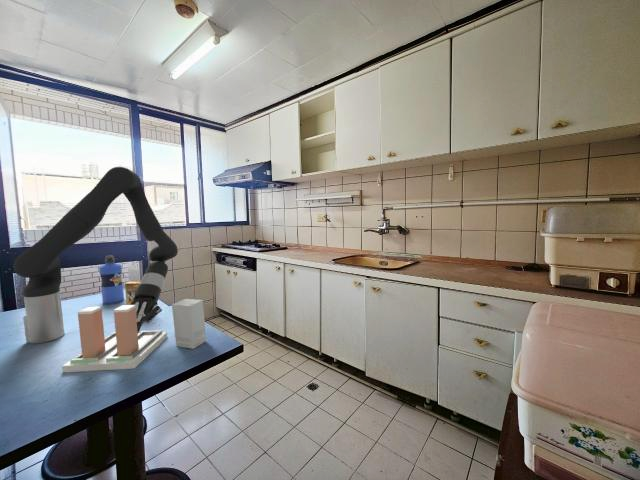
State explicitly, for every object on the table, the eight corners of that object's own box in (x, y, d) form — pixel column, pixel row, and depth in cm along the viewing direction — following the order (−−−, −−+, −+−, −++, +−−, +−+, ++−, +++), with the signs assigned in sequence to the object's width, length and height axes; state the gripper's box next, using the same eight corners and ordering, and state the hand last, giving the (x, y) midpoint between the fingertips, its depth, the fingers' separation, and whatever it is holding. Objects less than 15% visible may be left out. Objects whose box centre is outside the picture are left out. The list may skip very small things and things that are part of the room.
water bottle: (97, 303, 136) (93, 256, 133) (114, 297, 145) (110, 253, 143) (112, 304, 134) (108, 256, 132) (128, 298, 144) (125, 253, 141)
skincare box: (206, 341, 95) (204, 300, 94) (192, 350, 89) (190, 306, 87) (188, 337, 98) (186, 297, 96) (173, 346, 92) (171, 303, 90)
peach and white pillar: (117, 355, 82) (113, 309, 80) (125, 348, 86) (122, 305, 84) (131, 354, 82) (127, 309, 81) (138, 348, 86) (135, 304, 84)
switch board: (62, 372, 77) (61, 362, 77) (110, 339, 97) (109, 332, 96) (134, 368, 79) (133, 359, 78) (166, 337, 99) (166, 329, 98)
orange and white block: (82, 357, 80) (77, 311, 79) (92, 351, 84) (88, 306, 83) (96, 357, 81) (91, 311, 79) (105, 350, 85) (101, 306, 83)
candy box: (126, 316, 119) (123, 283, 118) (133, 312, 123) (131, 280, 122) (145, 316, 119) (142, 283, 117) (151, 312, 123) (149, 281, 122)
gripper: (126, 283, 93) (104, 331, 83) (165, 282, 95) (148, 329, 84) (136, 293, 99) (117, 339, 88) (172, 292, 100) (158, 337, 89)
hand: (132, 334), depth 86 cm, fingers closed
